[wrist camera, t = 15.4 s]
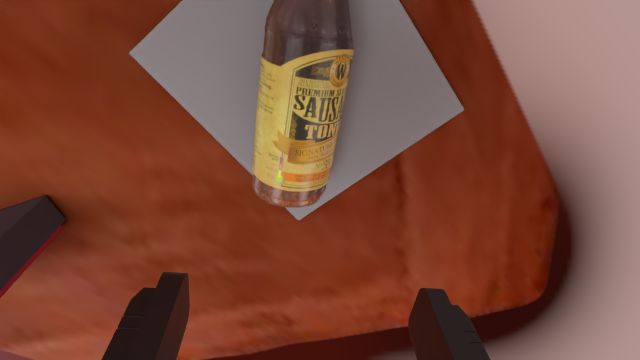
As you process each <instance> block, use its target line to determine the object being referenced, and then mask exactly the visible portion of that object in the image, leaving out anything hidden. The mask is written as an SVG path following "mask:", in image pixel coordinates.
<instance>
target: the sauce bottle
mask: <svg viewBox="0 0 640 360" xmlns="http://www.w3.org/2000/svg"><path fill="white" fill-rule="evenodd" d="M353 53H354V48H353V39H352V30H351V21H350V12H349V3H348V0H274V1H273V4H272V6H271V8H270V10H269V13H268V15H267V18H266V23H265V36H264V46H263V53H262V55H261V64H260V76H259V89H258V101H257V112H256V124H255V136H254V147H253V159H252V171H253V173H254V174H253V178H252V187H253V189H254V191H255V193H256V194H257V195H258V197H260V198H261V199H263V200H264V201H266V202H268V203H270V204H272V205H276V206H280V207H289V208H290V207H304V206H310V205H313V204H314V203H316V202H317V201H318V200H319V199H320V198H321V197H322V195H323V193H324V191H325V189H326V184H327V183H328V181H329V177H330V172H331V167H332V162H333V157H334V152H335V146H336V141H337V136H338V130H339V126H340V121H341V116H342V110H343V105H344V99H345V94H346V89H347V84H348V79H349V74H350V69H351V64H352V59H353Z"/></svg>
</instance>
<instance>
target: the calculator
mask: <svg viewBox="0 0 640 360" xmlns="http://www.w3.org/2000/svg"><path fill="white" fill-rule="evenodd" d="M64 221H65V218H64V217H63V215H62V214H61V213H60V212H59V211H58V209H57V208H56V207H55V206H54V205H53V203H52V202H51V201H50V200H49V199H48V198H47V197H46V196H42V197H39V198H36V199H33V200H30V201H27V202H24V203H21V204H18V205H15V206H12V207H9V208H6V209H3V210H0V298H1V297H2V296H3V295H4V293H5V292H6V291H7V290H8V289H9V288H10V287H11V286H12V284H13V283H14V282H15V281H16V280H17V279H18V278H19V277H20V276H21V274H22V273H23V272H24V271H25V270H26V269H27V268H28V267H29V266H30V264H31V263H32V262H33V261H34V260H35V259H36V258H37V257H38V256H39V254H40V253H41V252H42V251H43V250H44V249H45V248H46V247H47V246H48V244H49V243H50V242H51V241H52V240H53V239H54V238H55V237H56V235H57V234H58V233H59V232H60V231H61V230H62V229H63V227H62V226H61V225H62V223H63V222H64Z"/></svg>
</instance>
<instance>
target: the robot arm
mask: <svg viewBox="0 0 640 360" xmlns="http://www.w3.org/2000/svg"><path fill="white" fill-rule="evenodd" d="M188 316H189V282H188V274H187V273H173V272H163V274H162V275H161V278H160V280H159V282H158V285H157V287H156V288H143V289H142V290H141V291H140V292H139V293H138V294H137V295H135V296H134V297H133V298H132V299H131V301H130V303H129V305H128V307H127V309H126V311H125V313H124V317H122V319H121V321H120V323H119V325H118V329H116V331H115V333H114V335H113V338H112V340H111V342H110V344H109V346H108V348H107V350H106V352H105V354H104V356H103V358H102V360H176V359H177V355H178V352H179V349H180V345H181V342H182V339H183V335H184V332H185V329H186V325H187V321H188ZM409 334H410V338H411V341H412V344H413V347H414V350H415V354H416V357H417V360H490V358H489V356H488V354H487V352H486V350H485V348H484V346H483V345H482V344H481V340H480V338H479V336H478V334H476V330H475V328H474V326H473V324H472V322H471V320H470V318H469V317H468V316H467V315H466V314H465V312H464V311H463V310H462V309H461V308H460V307H459V306H458V305H451V303H450V301H449V299H448V296H447V294H446V292H445V291H444V290H443V289H431V288H421V289H420V290H419V293H418V295H417V298H416V301H415V303H414V306H413V309H412V311H411V314H410V317H409Z"/></svg>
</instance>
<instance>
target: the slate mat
mask: <svg viewBox="0 0 640 360" xmlns="http://www.w3.org/2000/svg"><path fill="white" fill-rule="evenodd" d="M273 1H274V0H182V1H181V2H180V3H179V4H178V5H177V6H176V7H175V8H174V9H173V10H172V11H171V12H170V13H169V14H168V15H167V16H166V17H165V18H164V19H163V20H162V21H161V22H160V23H159V24H158V25H157V26H156V27H155V28H154V29H153V30H152V31H151V32H150V33H149V34H148V35H147V36H146V37H145V38H144V39H143V40H142V41H141V42H140V43H139V44H138V45H137V46H136V47H135V48H134V49H133V50H131V51H130V52H129V54H130V55H131V56H132V57H133V58H134V59H135V60H136V61H137V62H138V63H139V64H140V65H141V66H142V67H143V68H144V69H145V70H146V71H147V72H148V73H149V74H150V75H151V76H152V77H153V78H154V79H155V80H156V81H157V82H158V83H159V84H160V85H162V86H163V87H164V88H165V89H166V90H167V91H168V92H169V93H170V94H171V95H172V96H173V97H174V98H175V99H176V100H177V101H178V102H179V103H180V104H181V105H182V106H183V107H184V108H185V109H186V110H187V111H188V112H189V113H190V114H191V115H192V116H193V117H194V118H195V119H196V120H197V121H198V122H199V123H200V124H201V125H202V126H203V127H204V128H205V129H206V130H207V131H208V132H209V133H210V134H211V135H212V136H213V137H214V138H215V139H216V140H217V141H218V142H219V143H220V144H221V145H222V146H223V147H224V148H225V149H226V150H227V151H228V152H229V153H230V154H231V155H232V156H233V157H234V158H235V159H237V160H238V161H239V162H240V163H241V164H242V165H243V166H244V167H245V168H246V169H247V170H248V171H249V172H250V173H251V174H252V175H253V174H254V173H253V171H252V159H253V147H254V136H255V124H256V112H257V101H258V89H259V76H260V64H261V55H262V53H263V46H264V36H265V23H266V18H267V15H268V13H269V10H270V8H271V6H272V4H273ZM348 3H349V12H350V21H351V30H352V39H353V48H354V53H353V59H352V64H351V69H350V74H349V79H348V84H347V89H346V94H345V99H344V105H343V110H342V116H341V121H340V126H339V130H338V136H337V141H336V146H335V152H334V157H333V162H332V167H331V172H330V177H329V181H328V183H327V184H326V189H325V191H324V193H323V195H322V197H321V198H320V199H319V200H318V201H317V202H316V203H314V204H313V205H310V206H304V207H290V208H289V207H285V208H286V209H287V210H288V211H289V212H290V213H291V214H292V215H293V216H294V217H295V218H296V219H297V220H298V221H299V220H300V219H302V218H303V217H305V216H306V215H308V214H309V213H311V212H312V211H314V210H315V209H317V208H318V207H320V206H321V205H323V204H324V203H326V202H327V201H329V200H330V199H332V198H333V197H335V196H336V195H338V194H339V193H341V192H342V191H344V190H345V189H347V188H348V187H350V186H351V185H353V184H354V183H356V182H357V181H359V180H360V179H362V178H363V177H365V176H366V175H368V174H369V173H371V172H372V171H374V170H375V169H377V168H378V167H380V166H381V165H383V164H384V163H386V162H387V161H389V160H390V159H391V158H393V157H394V156H396V155H397V154H399V153H400V152H402V151H403V150H405V149H406V148H408V147H409V146H411V145H412V144H414V143H415V142H417V141H418V140H420V139H421V138H423V137H424V136H426V135H427V134H429V133H430V132H432V131H433V130H435V129H436V128H438V127H439V126H441V125H442V124H444V123H445V122H447V121H448V120H450V119H451V118H453V117H454V116H456V115H457V114H459V113H460V112H462V111H463V110H464V108H463V106H462V105H461V103H460V101H459V100H458V98H457V96H456V95H455V93H454V91H453V90H452V88H451V86H450V85H449V83H448V81H447V80H446V78H445V76H444V75H443V73H442V71H441V70H440V68H439V66H438V65H437V63H436V61H435V60H434V58H433V56H432V55H431V53H430V51H429V50H428V48H427V46H426V45H425V43H424V41H423V40H422V38H421V36H420V35H419V33H418V31H417V30H416V28H415V26H414V25H413V23H412V21H411V20H410V18H409V16H408V15H407V13H406V11H405V9H404V8H403V6H402V4H401V3H400V1H399V0H348Z"/></svg>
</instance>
